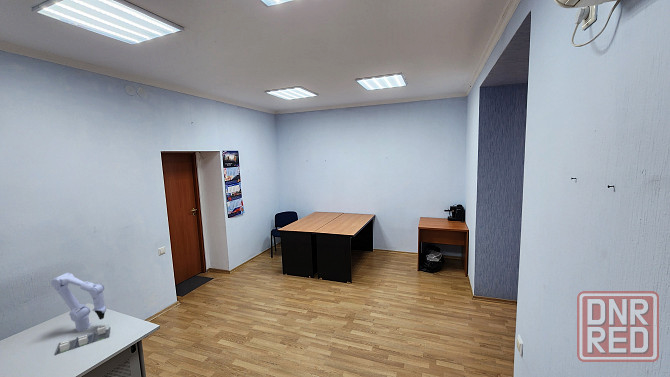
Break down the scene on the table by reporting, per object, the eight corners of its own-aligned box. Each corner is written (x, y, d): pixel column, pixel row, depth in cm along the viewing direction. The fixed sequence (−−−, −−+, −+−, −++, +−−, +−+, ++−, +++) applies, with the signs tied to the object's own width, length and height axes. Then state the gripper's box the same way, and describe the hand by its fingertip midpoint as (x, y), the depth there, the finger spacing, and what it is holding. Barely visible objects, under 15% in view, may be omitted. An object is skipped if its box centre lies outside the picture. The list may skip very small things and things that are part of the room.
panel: (59, 346, 182) (58, 343, 182) (110, 329, 198) (110, 326, 198) (55, 356, 173) (54, 353, 172) (109, 338, 188) (109, 335, 188)
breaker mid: (80, 342, 183) (79, 336, 183) (88, 339, 186) (87, 334, 185) (79, 345, 180) (78, 340, 179) (87, 343, 182) (86, 337, 182)
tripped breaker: (98, 332, 193) (97, 326, 193) (106, 329, 196) (105, 324, 195) (98, 335, 190) (97, 329, 190) (105, 332, 193) (104, 327, 192)
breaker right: (61, 348, 178) (60, 342, 177) (70, 345, 180) (69, 340, 180) (60, 352, 175) (59, 346, 174) (68, 349, 177) (67, 343, 176)
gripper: (87, 301, 196) (90, 318, 198) (95, 307, 188) (98, 324, 190) (99, 296, 202) (102, 313, 204) (108, 302, 194) (111, 319, 196)
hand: (101, 318), depth 197 cm, fingers closed
